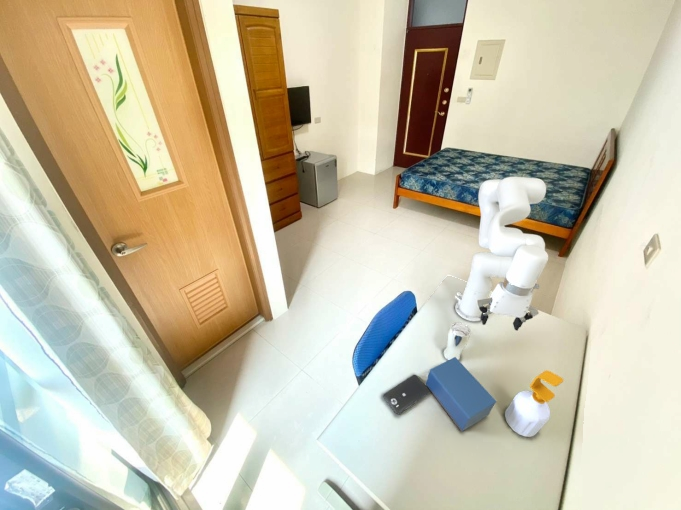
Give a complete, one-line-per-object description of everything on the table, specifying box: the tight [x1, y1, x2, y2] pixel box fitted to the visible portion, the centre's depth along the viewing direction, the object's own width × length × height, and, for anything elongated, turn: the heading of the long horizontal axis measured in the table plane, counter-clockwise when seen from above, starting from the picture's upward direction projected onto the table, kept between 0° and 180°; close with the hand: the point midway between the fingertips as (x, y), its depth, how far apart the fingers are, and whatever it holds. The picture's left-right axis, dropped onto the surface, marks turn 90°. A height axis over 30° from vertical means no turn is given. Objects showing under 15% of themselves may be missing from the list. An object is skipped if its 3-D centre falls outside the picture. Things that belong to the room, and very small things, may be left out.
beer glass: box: [443, 321, 472, 361], centre depth 104 cm, size 7×7×15 cm
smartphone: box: [382, 374, 430, 416], centre depth 95 cm, size 8×15×1 cm, turn 121°
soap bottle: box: [504, 370, 564, 438], centre depth 81 cm, size 9×9×25 cm
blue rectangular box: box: [425, 357, 497, 432], centre depth 91 cm, size 17×11×10 cm, turn 25°
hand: (498, 324), depth 91 cm, fingers open, 9 cm apart
